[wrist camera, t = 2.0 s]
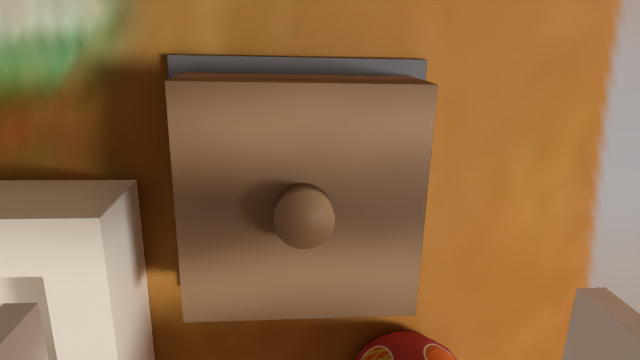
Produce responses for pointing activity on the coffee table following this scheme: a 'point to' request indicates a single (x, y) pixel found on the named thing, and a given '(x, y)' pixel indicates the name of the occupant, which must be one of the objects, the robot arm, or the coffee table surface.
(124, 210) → the dish
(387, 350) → the smoothie
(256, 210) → the lid
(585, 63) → the coffee table surface
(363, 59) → the mat
